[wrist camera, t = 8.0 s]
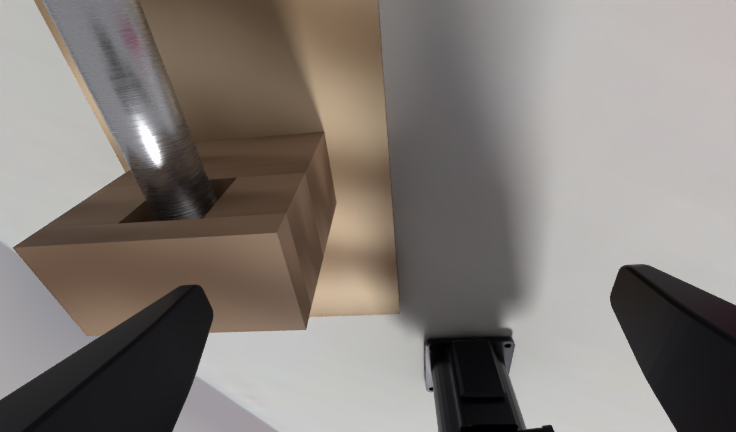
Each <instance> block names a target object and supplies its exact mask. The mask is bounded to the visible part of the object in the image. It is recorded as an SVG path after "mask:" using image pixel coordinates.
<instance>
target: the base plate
mask: <svg viewBox="0 0 736 432" xmlns="http://www.w3.org/2000/svg"><path fill="white" fill-rule="evenodd" d="M34 1H35V3H36V5H37V7H38V9H39V10H40V12H41V14H42V16H43V18H44V20H45V22H46V24H47V25H48V27H49V29H50V31H51V33H52V35H53V37H54V39H55V41H56V42H57V44H58V46H59V48H60V50H61V52H62V54H63V56H64V57H65V59H66V61H67V63H68V65H69V67H70V69H71V71H72V72H73V74H74V76H75V78H76V80H77V82H78V84H79V86H80V88H81V89H82V91H83V93H84V95H85V97H86V99H87V101H88V103H89V104H90V106H91V108H92V110H93V112H94V114H95V116H96V118H97V120H98V121H99V123H100V125H101V127H102V129H103V131H104V133H105V135H106V136H107V138H108V140H109V142H110V144H111V146H112V148H113V150H114V152H115V153H116V155H117V157H118V159H119V161H120V163H121V165H122V167H123V168H124V170H125V172H128V171H129V170H130V168H129V166H128V165H127V163H126V161H125V159H124V157H123V155H122V153H121V151H120V149H119V147H118V145H117V143H116V142H115V140H114V138H113V136H112V134H111V132H110V130H109V128H108V126H107V124H106V122H105V120H104V118H103V117H102V115H101V113H100V111H99V109H98V107H97V105H96V103H95V101H94V99H93V97H92V95H91V94H90V92H89V90H88V88H87V86H86V84H85V82H84V80H83V78H82V76H81V74H80V72H79V71H78V69H77V67H76V65H75V63H74V61H73V59H72V57H71V55H70V53H69V51H68V49H67V47H66V46H65V44H64V42H63V40H62V38H61V36H60V34H59V32H58V30H57V28H56V26H55V24H54V23H53V21H52V19H51V17H50V15H49V13H48V11H47V9H46V7H45V5H44V3H43V1H42V0H34ZM139 1H140V4H141V6H142V9H143V11H144V14H145V17H146V19H147V22H148V24H149V27H150V29H151V32H152V34H153V37H154V40H155V42H156V45H157V47H158V50H159V52H160V55H161V57H162V60H163V63H164V65H165V68H166V70H167V73H168V75H169V78H170V81H171V83H172V86H173V88H174V91H175V93H176V96H177V98H178V101H179V104H180V106H181V109H182V111H183V114H184V116H185V119H186V122H187V124H188V127H189V129H190V132H191V134H192V137H193V139H194V142H204V141H216V140H228V139H240V138H252V137H264V136H276V135H288V134H300V133H312V132H325V138H326V144H327V150H328V155H329V161H330V167H331V173H332V179H333V184H334V190H335V196H336V202H337V204H336V208H335V212H334V216H333V220H332V224H331V228H330V232H329V237H328V241H327V245H326V249H325V253H324V257H323V261H322V265H321V270H320V274H319V278H318V282H317V286H316V290H315V294H314V298H313V303H312V307H311V311H310V315H309V317H323V316H354V315H385V314H400V308H399V292H398V278H397V263H396V249H395V234H394V220H393V206H392V191H391V177H390V163H389V148H388V134H387V120H386V105H385V91H384V77H383V62H382V48H381V33H380V19H379V5H378V0H139Z"/></svg>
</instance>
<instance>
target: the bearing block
mask: <svg viewBox="0 0 736 432" xmlns="http://www.w3.org/2000/svg"><path fill="white" fill-rule="evenodd" d="M195 145H196V147H197V150H198V152H199V155H200V157H201V160H202V162H203V165H204V168H205V170H206V173H207V175H208V178H209V180H210V183H211V186H212V188H213V191H214V193H215V196H216V198H217V202H216V203H215V205H214V206H213V207H212V208H211V209H210V211H209V212H208V213H207V214H206V215H205V217H204V218H202V219H185V220H169V221H157V220H156V218H155V216H154V214H153V213H152V211H151V209H150V207H149V205H148V203H147V201H146V199H145V197H144V195H143V193H142V191H141V190H140V188H139V186H138V184H137V182H136V180H135V178H134V176H133V174H132V172H131V170H129V171H128V172H126V173H125V174H123V175H122V176H120V177H119V178H117V179H116V180H114V181H113V182H111V183H110V184H108V185H107V186H105V187H104V188H102V189H101V190H99V191H97V192H96V193H94V194H93V195H91V196H90V197H88V198H87V199H85V200H84V201H82V202H81V203H79V204H78V205H76V206H75V207H73V208H72V209H70V210H69V211H67V212H66V213H64V214H63V215H61V216H60V217H58V218H57V219H55V220H54V221H52V222H51V223H49V224H48V225H46V226H45V227H43V228H42V229H40V230H39V231H37V232H36V233H34V234H33V235H31V236H30V237H28V238H27V239H25V240H24V241H22V242H21V243H19V244H18V245H16V246H15V247H13V249H14V250H15V251H16V252H17V253H18V254H19V256H20V257H21V258H22V259H23V260H24V262H25V263H26V264H27V265H28V266H29V268H30V269H31V270H32V271H33V272H34V274H35V275H36V276H37V277H38V278H39V280H40V281H41V282H42V283H43V284H44V285H45V287H46V288H47V289H48V290H49V291H50V292H51V294H52V295H53V296H54V297H55V299H56V300H57V301H58V302H59V303H60V305H61V306H62V307H63V308H64V309H65V311H66V312H67V313H68V314H69V315H70V316H71V318H72V319H73V320H74V321H75V322H76V323H77V325H78V326H79V327H80V328H81V329H82V331H83V332H84V333H85V334H86V336H102V335H103V334H105V333H106V332H108V331H110V330H111V329H113V328H114V327H116V326H117V325H119V324H121V323H122V322H124V321H125V320H127V319H128V318H130V317H132V316H133V315H135V314H136V313H138V312H139V311H141V310H143V309H144V308H146V307H147V306H149V305H150V304H152V303H154V302H155V301H157V300H158V299H160V298H161V297H163V296H165V295H166V294H168V293H169V292H171V291H172V290H174V289H176V288H177V287H179V286H181V285H193V284H197V285H200V286H201V287H202V288H203V290H204V292H205V294H206V296H207V298H208V300H209V302H210V304H211V307H212V309H213V315H214V316H213V322H212V325H211V328H210V331H209V333H213V332H247V331H282V330H306V327H307V323H308V319H309V315H310V311H311V307H312V303H313V298H314V294H315V290H316V286H317V282H318V278H319V274H320V270H321V265H322V261H323V257H324V253H325V249H326V245H327V241H328V237H329V232H330V228H331V224H332V220H333V216H334V212H335V208H336V204H337V202H336V196H335V190H334V184H333V179H332V173H331V167H330V161H329V155H328V150H327V144H326V138H325V132H312V133H300V134H288V135H276V136H264V137H252V138H240V139H228V140H216V141H204V142H195Z"/></svg>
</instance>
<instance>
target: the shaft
mask: <svg viewBox="0 0 736 432" xmlns="http://www.w3.org/2000/svg"><path fill="white" fill-rule="evenodd" d="M42 1H43V3H44V5H45V7H46V9H47V11H48V13H49V15H50V17H51V19H52V21H53V23H54V24H55V26H56V28H57V30H58V32H59V34H60V36H61V38H62V40H63V42H64V44H65V46H66V47H67V49H68V51H69V53H70V55H71V57H72V59H73V61H74V63H75V65H76V67H77V69H78V71H79V72H80V74H81V76H82V78H83V80H84V82H85V84H86V86H87V88H88V90H89V92H90V94H91V95H92V97H93V99H94V101H95V103H96V105H97V107H98V109H99V111H100V113H101V115H102V117H103V118H104V120H105V122H106V124H107V126H108V128H109V130H110V132H111V134H112V136H113V138H114V140H115V142H116V143H117V145H118V147H119V149H120V151H121V153H122V155H123V157H124V159H125V161H126V163H127V165H128V166H129V168H130V170H131V172H132V174H133V176H134V178H135V180H136V182H137V184H138V186H139V188H140V190H141V191H142V193H143V195H144V197H145V199H146V201H147V203H148V205H149V207H150V209H151V211H152V213H153V214H154V216H155V218H156V220H157V221H169V220H185V219H202V218H204V217H205V215H206V214H207V213H208V212H209V211H210V209H211V208H212V207H213V206H214V205H215V203H216V202H217V198H216V196H215V193H214V191H213V188H212V186H211V183H210V180H209V178H208V175H207V173H206V170H205V168H204V165H203V162H202V160H201V157H200V155H199V152H198V150H197V147H196V145H195V142H194V139H193V137H192V134H191V132H190V129H189V127H188V124H187V122H186V119H185V116H184V114H183V111H182V109H181V106H180V104H179V101H178V98H177V96H176V93H175V91H174V88H173V86H172V83H171V81H170V78H169V75H168V73H167V70H166V68H165V65H164V63H163V60H162V57H161V55H160V52H159V50H158V47H157V45H156V42H155V40H154V37H153V34H152V32H151V29H150V27H149V24H148V22H147V19H146V17H145V14H144V11H143V9H142V6H141V4H140V1H139V0H42Z"/></svg>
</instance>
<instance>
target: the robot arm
mask: <svg viewBox="0 0 736 432" xmlns="http://www.w3.org/2000/svg"><path fill="white" fill-rule="evenodd" d="M610 302H611V306H612V308H613V311H614V313H615V315H616V317H617V319H618V321H619V323H620V325H621V328H622V330H623V332H624V334H625V336H626V338H627V340H628V343H629V345H630V347H631V349H632V351H633V353H634V355H635V357H636V360H637V362H638V364H639V366H640V368H641V370H642V372H643V374H644V376H645V378H646V380H647V381H648V383H649V385H650V387H651V388H652V390H653V392H654V394H655V395H656V397H657V399H658V400H659V402H660V404H661V405H662V407H663V409H664V410H665V412H666V414H667V415H668V417H669V419H670V420H671V422H672V424H673V425H674V427H675V429H676V430H677V432H736V305H734V304H732V303H730V302H727V301H725V300H723V299H721V298H719V297H717V296H714V295H712V294H710V293H708V292H706V291H704V290H701V289H699V288H697V287H695V286H693V285H691V284H688V283H686V282H684V281H682V280H680V279H678V278H675V277H673V276H671V275H669V274H667V273H665V272H662V271H660V270H658V269H656V268H654V267H652V266H649V265H646V264H635V265H624V266H622V267H621V268H620V269H619V271H618V274H617V277H616V280H615V283H614V286H613V289H612V292H611V295H610ZM213 316H214V315H213V309H212V307H211V304H210V302H209V300H208V298H207V296H206V294H205V292H204V290H203V288H202V287H201V286H200V285H197V284H193V285H181V286H179V287H177V288H176V289H174V290H172V291H171V292H169V293H168V294H166V295H165V296H163V297H161V298H160V299H158V300H157V301H155V302H154V303H152V304H150V305H149V306H147V307H146V308H144V309H143V310H141V311H139V312H138V313H136V314H135V315H133V316H132V317H130V318H128V319H127V320H125V321H124V322H122V323H121V324H119V325H117V326H116V327H114V328H113V329H111V330H110V331H108V332H106V333H105V334H103V335H102V336H100V337H99V338H97V339H96V340H94V341H92V342H91V343H89V344H88V345H86V346H85V347H83V348H81V349H80V350H78V351H77V352H75V353H74V354H72V355H70V356H69V357H67V358H66V359H64V360H62V361H61V362H60V363H58V364H56V365H55V366H53V367H52V368H50V369H48V370H47V371H45V372H44V373H42V374H40V375H39V376H37V377H36V378H34V379H33V380H31V381H30V382H28V383H26V384H25V385H23V386H22V387H20V388H18V389H17V390H16V391H14V392H12V393H11V394H9V395H8V396H6V397H4V398H3V399H1V400H0V432H172V431H173V429H174V426H175V424H176V422H177V419H178V417H179V415H180V412H181V410H182V408H183V405H184V403H185V401H186V398H187V396H188V394H189V391H190V389H191V386H192V384H193V381H194V378H195V375H196V372H197V369H198V366H199V363H200V359H201V356H202V353H203V350H204V347H205V344H206V341H207V337H208V334H209V331H210V328H211V325H212V322H213ZM514 347H515V344H514V341H513V339H512V338H510V337H482V338H443V339H428V340H427V341H426V342H425V378H426V390H427V391H428V392H434V399H435V407H436V415H437V423H438V432H554V430H553V428H552V425H545V426H542V428H534V429H526V426H525V423H524V420H523V417H522V414H521V411H520V408H519V405H518V402H517V399H516V396H515V393H514V390H513V387H512V384H511V380H510V377H509V371H510V366H511V361H512V357H513V352H514Z"/></svg>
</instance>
